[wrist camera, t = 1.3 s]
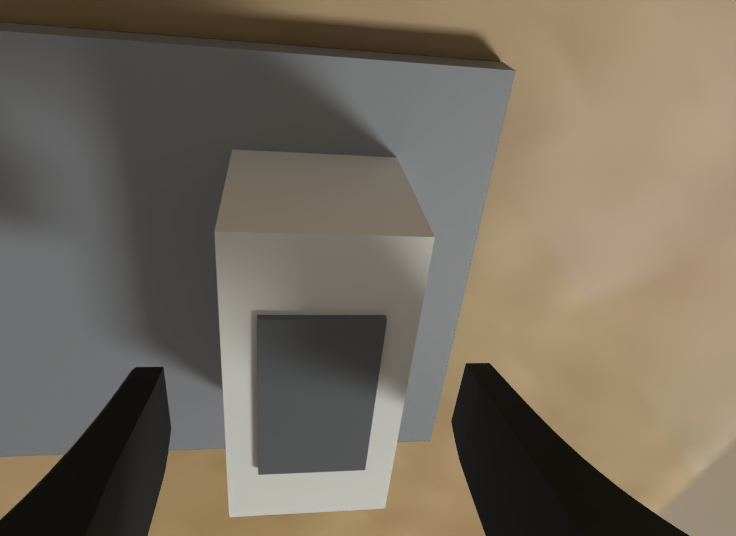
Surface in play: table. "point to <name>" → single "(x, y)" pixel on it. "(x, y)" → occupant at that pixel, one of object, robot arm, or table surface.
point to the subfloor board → (199, 205)
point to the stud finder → (316, 326)
